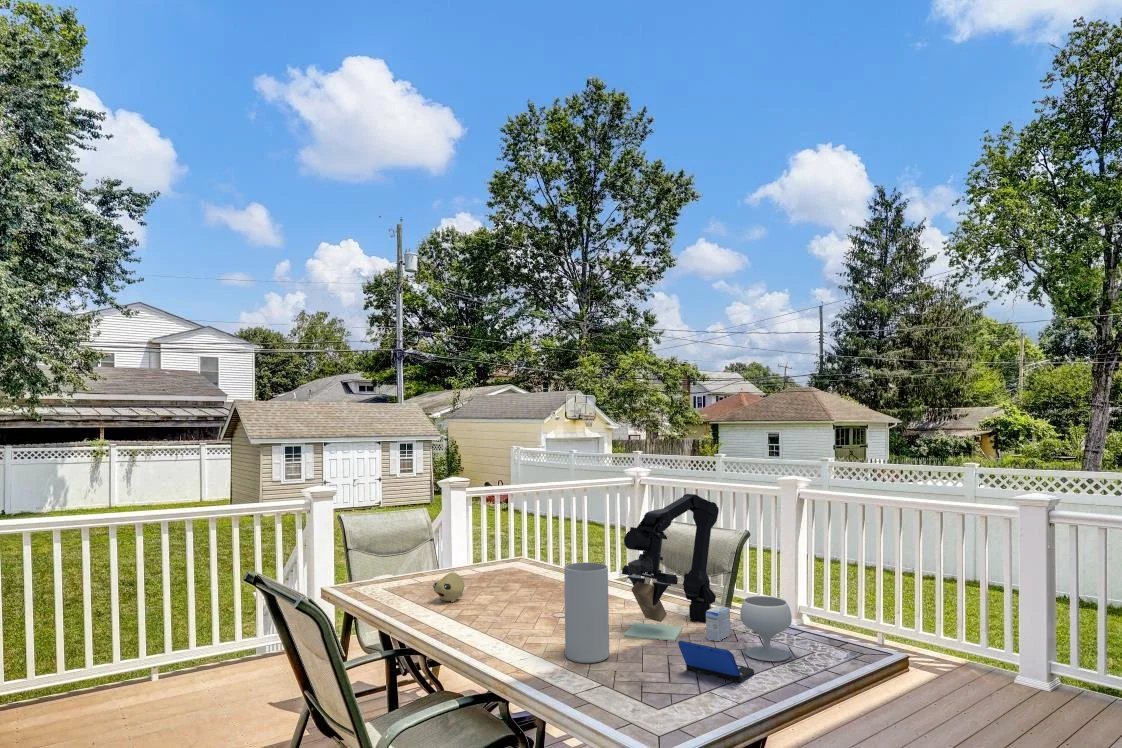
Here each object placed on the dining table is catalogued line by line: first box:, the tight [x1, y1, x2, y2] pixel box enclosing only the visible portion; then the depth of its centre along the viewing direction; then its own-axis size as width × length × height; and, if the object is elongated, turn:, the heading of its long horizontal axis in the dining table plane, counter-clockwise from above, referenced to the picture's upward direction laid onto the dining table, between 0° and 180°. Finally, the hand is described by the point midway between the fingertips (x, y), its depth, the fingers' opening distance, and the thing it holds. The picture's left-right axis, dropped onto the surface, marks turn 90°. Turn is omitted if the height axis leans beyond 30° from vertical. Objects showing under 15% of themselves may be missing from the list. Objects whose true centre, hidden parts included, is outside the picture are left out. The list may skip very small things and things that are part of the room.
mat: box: [623, 622, 684, 642], centre depth 211 cm, size 16×14×1 cm
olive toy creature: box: [432, 571, 465, 603], centre depth 253 cm, size 10×12×11 cm
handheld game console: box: [678, 640, 755, 684], centre depth 175 cm, size 16×13×9 cm
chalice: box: [739, 595, 793, 662], centre depth 189 cm, size 14×14×15 cm
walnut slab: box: [630, 582, 668, 623], centre depth 210 cm, size 6×4×12 cm, turn 42°
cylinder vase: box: [563, 561, 610, 664], centre depth 190 cm, size 12×12×25 cm
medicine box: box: [705, 605, 731, 642], centre depth 205 cm, size 8×4×9 cm, turn 141°
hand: (645, 603), depth 209 cm, fingers closed on walnut slab, 6 cm apart
